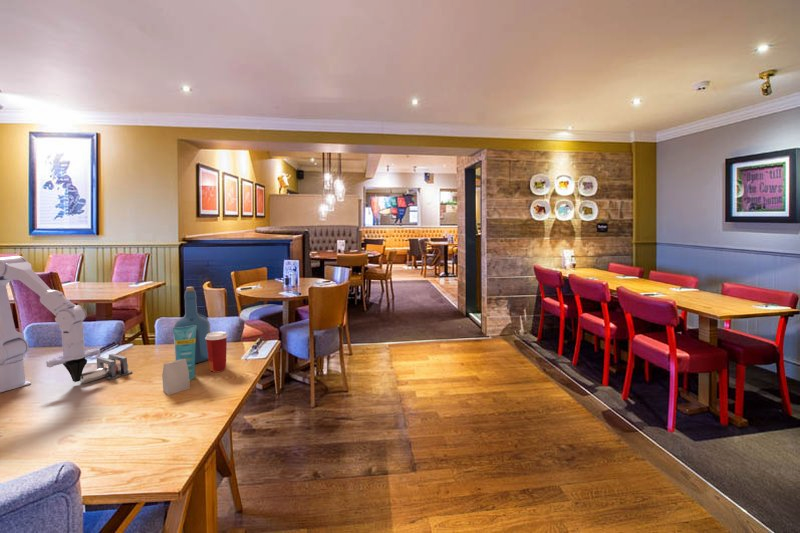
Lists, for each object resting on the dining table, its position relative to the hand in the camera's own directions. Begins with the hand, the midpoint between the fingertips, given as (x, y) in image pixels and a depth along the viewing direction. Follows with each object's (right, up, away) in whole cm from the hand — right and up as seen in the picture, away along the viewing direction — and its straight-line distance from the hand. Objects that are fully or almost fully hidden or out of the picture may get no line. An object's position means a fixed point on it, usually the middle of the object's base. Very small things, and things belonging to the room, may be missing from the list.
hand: (76, 380), depth 133 cm
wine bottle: (+27, +1, +26) cm, 37 cm away
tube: (+35, -1, +6) cm, 35 cm away
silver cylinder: (+4, -1, +8) cm, 8 cm away
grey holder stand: (+4, -1, +8) cm, 9 cm away
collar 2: (+6, 0, +12) cm, 13 cm away
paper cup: (+41, 0, +15) cm, 44 cm away
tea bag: (+36, -2, -3) cm, 36 cm away
